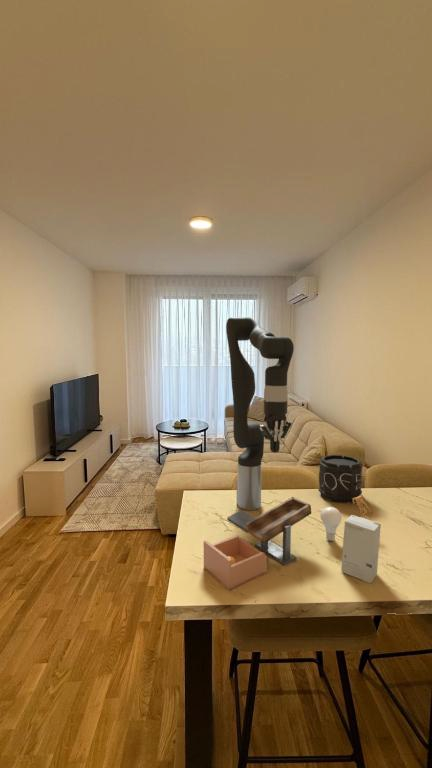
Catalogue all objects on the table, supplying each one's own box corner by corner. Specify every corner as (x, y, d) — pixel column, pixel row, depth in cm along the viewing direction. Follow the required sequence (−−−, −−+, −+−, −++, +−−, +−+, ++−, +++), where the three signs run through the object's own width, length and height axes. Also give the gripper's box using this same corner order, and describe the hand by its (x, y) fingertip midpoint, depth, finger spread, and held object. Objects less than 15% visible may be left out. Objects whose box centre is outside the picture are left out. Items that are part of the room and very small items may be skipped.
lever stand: (266, 541, 117) (266, 510, 116) (296, 560, 106) (297, 525, 105) (254, 546, 114) (254, 514, 113) (284, 565, 103) (285, 530, 102)
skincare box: (341, 572, 100) (342, 520, 99) (348, 562, 105) (350, 513, 103) (372, 584, 95) (374, 530, 93) (379, 574, 99) (381, 522, 98)
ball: (229, 566, 102) (217, 568, 100) (231, 552, 103) (220, 554, 100) (237, 573, 99) (226, 576, 97) (240, 559, 99) (228, 561, 97)
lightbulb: (340, 537, 119) (341, 505, 118) (340, 546, 113) (341, 513, 112) (320, 534, 121) (321, 502, 120) (319, 543, 115) (320, 510, 114)
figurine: (378, 531, 123) (379, 497, 122) (364, 535, 121) (365, 500, 120) (360, 521, 130) (361, 489, 129) (346, 524, 128) (347, 491, 127)
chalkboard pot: (341, 508, 142) (342, 469, 140) (309, 492, 158) (310, 457, 156) (372, 499, 150) (374, 462, 149) (339, 485, 166) (340, 452, 165)
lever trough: (272, 495, 127) (271, 487, 127) (311, 513, 113) (310, 504, 112) (227, 520, 116) (226, 511, 116) (264, 543, 102) (263, 533, 101)
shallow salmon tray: (203, 568, 102) (203, 540, 102) (239, 553, 110) (239, 528, 109) (229, 590, 93) (229, 560, 92) (266, 572, 100) (266, 545, 99)
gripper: (282, 396, 123) (281, 446, 124) (252, 399, 115) (251, 452, 117) (298, 399, 116) (297, 451, 118) (268, 402, 109) (267, 458, 111)
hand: (274, 451), depth 117 cm, fingers closed
